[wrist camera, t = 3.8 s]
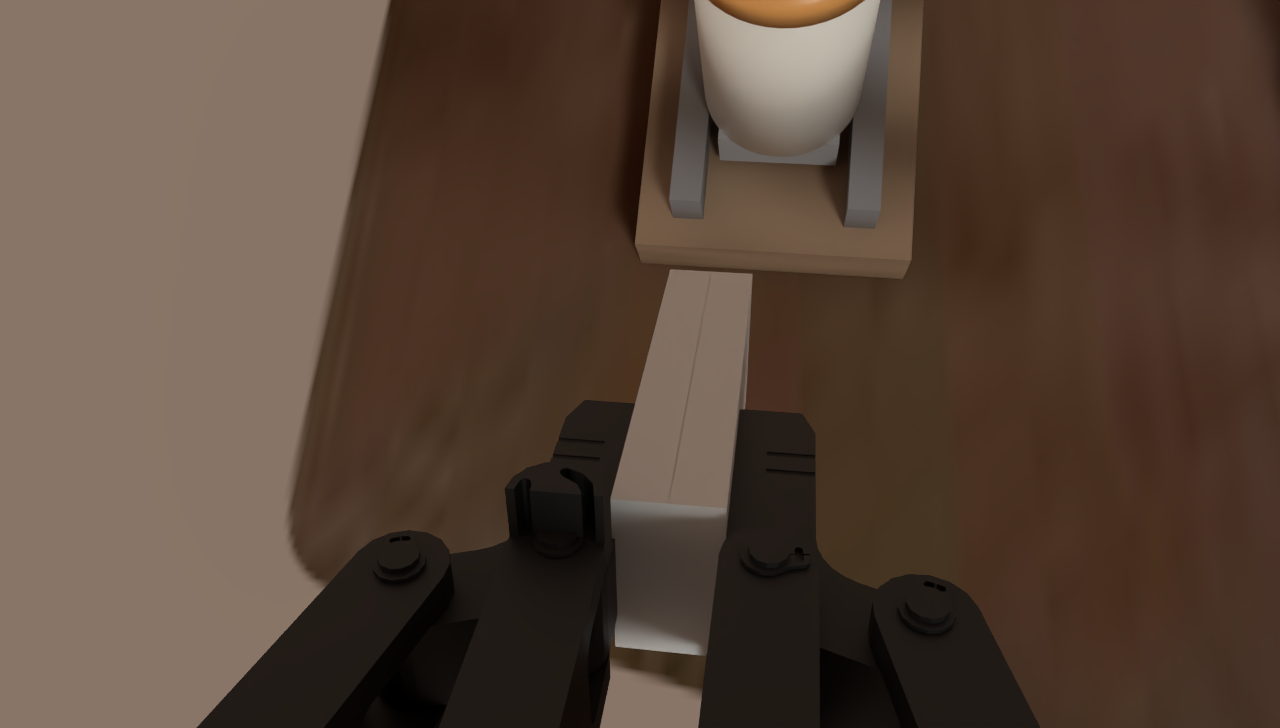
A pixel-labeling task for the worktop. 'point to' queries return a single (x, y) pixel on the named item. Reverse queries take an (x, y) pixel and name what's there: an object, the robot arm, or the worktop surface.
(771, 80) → the knob
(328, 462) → the worktop surface
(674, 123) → the knob mount
